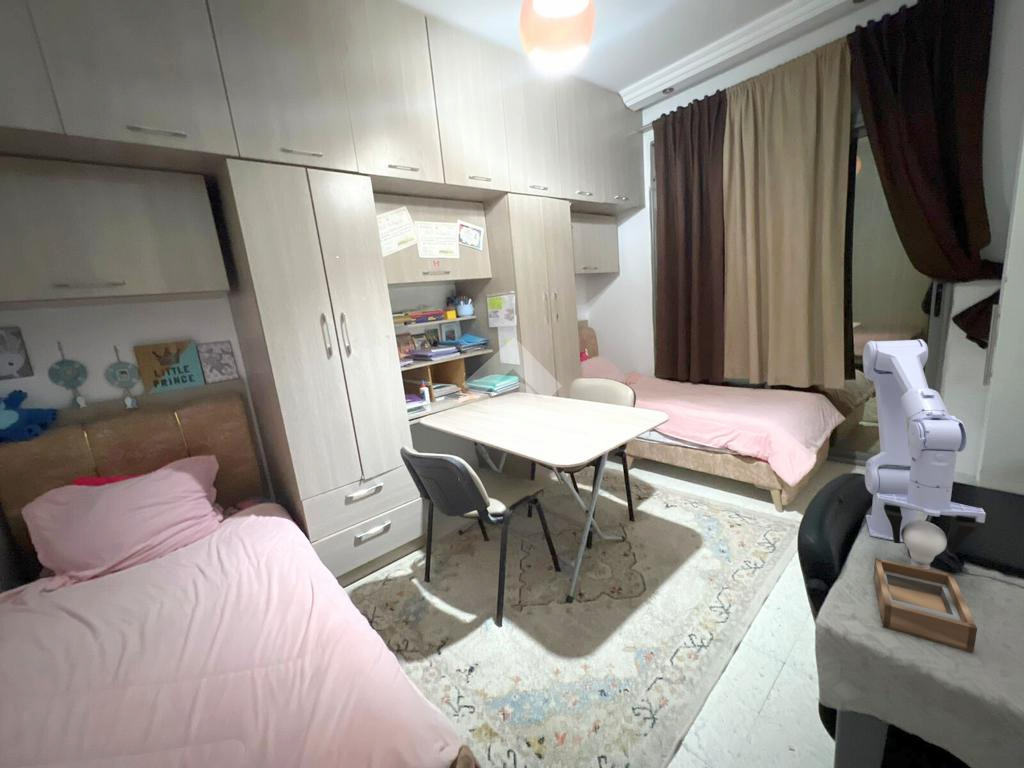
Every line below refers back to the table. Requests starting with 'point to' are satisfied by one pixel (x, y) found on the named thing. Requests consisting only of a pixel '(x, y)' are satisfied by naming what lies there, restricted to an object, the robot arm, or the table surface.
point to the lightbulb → (923, 542)
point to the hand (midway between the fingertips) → (922, 545)
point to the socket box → (923, 604)
